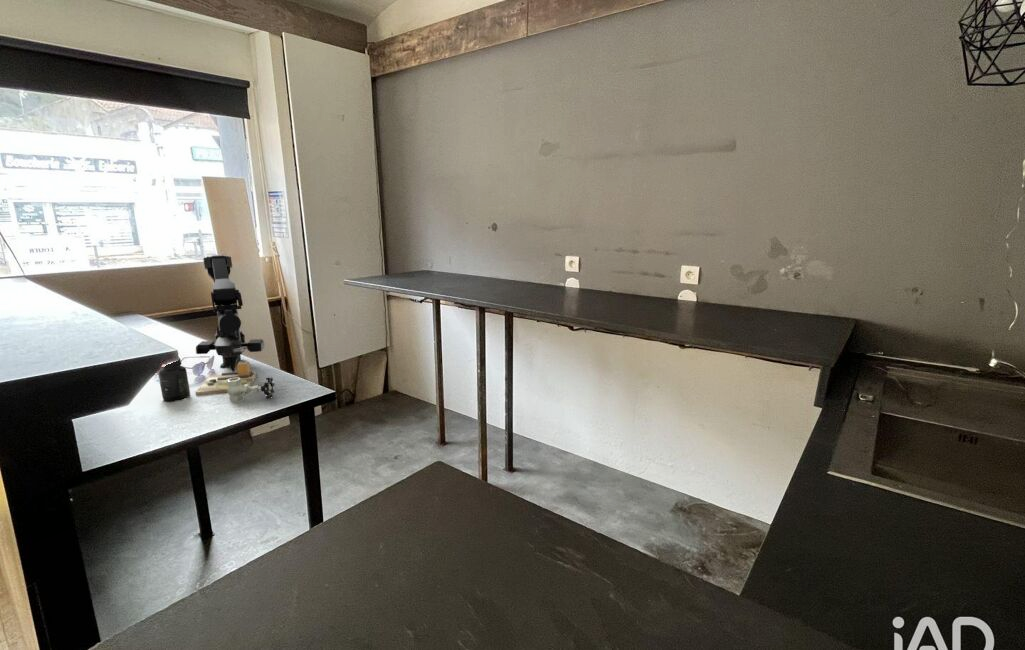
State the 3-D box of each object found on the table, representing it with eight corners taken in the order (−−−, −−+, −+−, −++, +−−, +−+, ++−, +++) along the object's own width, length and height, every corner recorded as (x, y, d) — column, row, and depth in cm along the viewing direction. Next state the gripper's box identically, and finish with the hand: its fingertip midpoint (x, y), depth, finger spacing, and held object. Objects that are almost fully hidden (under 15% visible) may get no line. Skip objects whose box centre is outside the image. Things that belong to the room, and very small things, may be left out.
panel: (211, 378, 160) (210, 373, 160) (257, 375, 164) (256, 370, 164) (195, 396, 146) (194, 390, 145) (247, 391, 150) (246, 386, 149)
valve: (224, 405, 140) (269, 402, 142) (221, 383, 138) (266, 381, 140) (233, 396, 146) (275, 394, 148) (230, 375, 145) (273, 373, 147)
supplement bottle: (157, 400, 142) (150, 362, 140) (178, 392, 149) (172, 355, 146) (174, 403, 141) (168, 364, 138) (196, 394, 147) (189, 357, 144)
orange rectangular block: (240, 373, 161) (238, 360, 160) (250, 372, 162) (248, 359, 161) (238, 376, 158) (236, 363, 157) (248, 375, 159) (246, 362, 158)
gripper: (186, 332, 145) (192, 381, 149) (255, 330, 150) (259, 378, 154) (199, 324, 156) (204, 370, 159) (262, 322, 161) (266, 367, 164)
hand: (233, 371), depth 159 cm, fingers closed
